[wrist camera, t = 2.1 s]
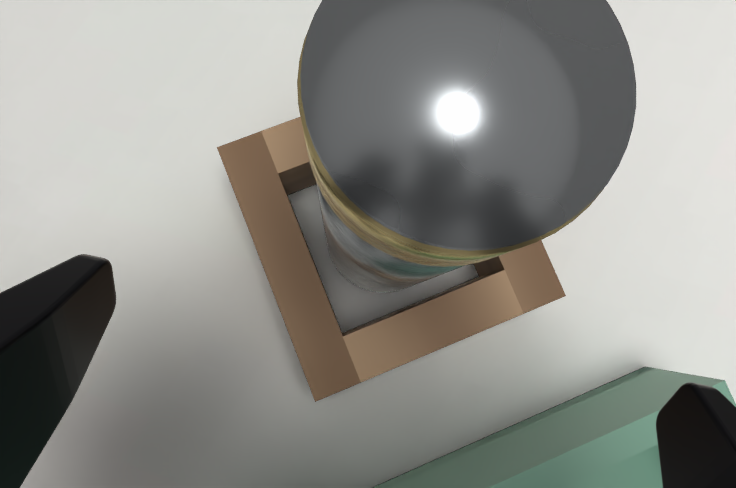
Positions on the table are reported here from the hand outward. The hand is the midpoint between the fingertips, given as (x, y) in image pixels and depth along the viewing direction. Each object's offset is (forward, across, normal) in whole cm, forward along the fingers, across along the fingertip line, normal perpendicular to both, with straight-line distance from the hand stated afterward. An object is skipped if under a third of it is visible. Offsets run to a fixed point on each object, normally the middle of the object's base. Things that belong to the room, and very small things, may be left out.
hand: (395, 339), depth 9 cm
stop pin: (+10, 0, +5) cm, 11 cm away
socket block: (+10, 0, +5) cm, 11 cm away
